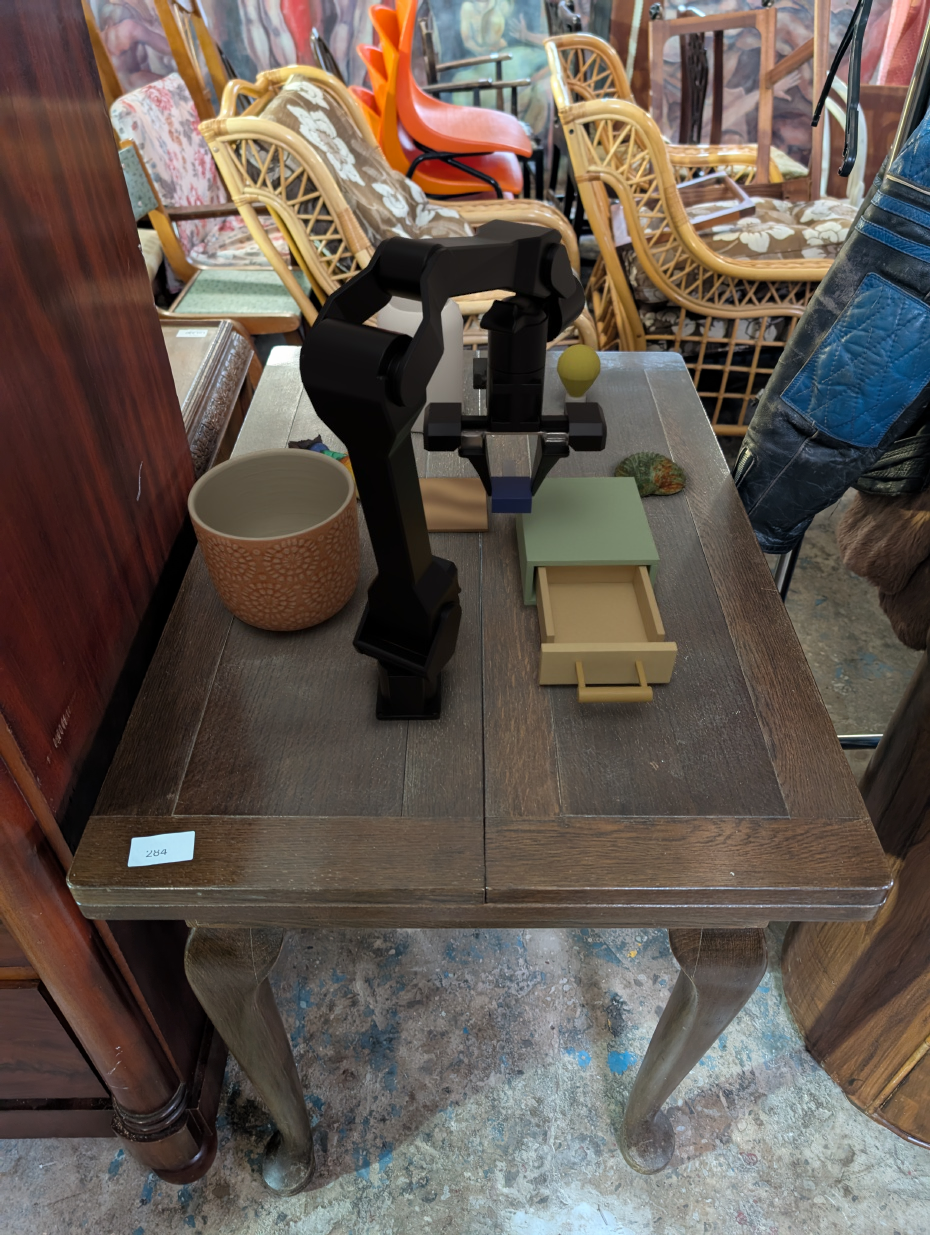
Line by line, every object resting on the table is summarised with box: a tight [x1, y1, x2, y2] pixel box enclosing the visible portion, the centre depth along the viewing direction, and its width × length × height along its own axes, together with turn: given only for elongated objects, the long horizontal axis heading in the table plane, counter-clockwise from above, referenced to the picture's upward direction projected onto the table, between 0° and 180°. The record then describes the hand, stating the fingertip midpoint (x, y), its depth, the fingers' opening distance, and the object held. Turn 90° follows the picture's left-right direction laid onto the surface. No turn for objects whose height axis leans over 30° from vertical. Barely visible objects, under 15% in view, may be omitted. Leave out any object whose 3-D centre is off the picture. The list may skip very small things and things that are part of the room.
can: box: [376, 296, 465, 433], centre depth 118 cm, size 12×12×20 cm
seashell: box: [614, 451, 687, 498], centre depth 110 cm, size 10×4×10 cm
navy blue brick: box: [490, 459, 532, 514], centre depth 90 cm, size 10×4×2 cm, turn 0°
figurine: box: [287, 432, 360, 500], centre depth 107 cm, size 11×8×6 cm, turn 41°
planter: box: [187, 447, 361, 632], centre depth 87 cm, size 17×17×15 cm
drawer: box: [535, 565, 679, 704], centre depth 84 cm, size 20×13×5 cm, turn 1°
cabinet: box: [515, 476, 661, 606], centre depth 95 cm, size 17×15×7 cm
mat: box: [419, 477, 489, 533], centre depth 106 cm, size 12×12×1 cm
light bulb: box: [556, 343, 602, 403], centre depth 123 cm, size 7×7×10 cm
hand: (511, 494), depth 88 cm, fingers closed on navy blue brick, 4 cm apart
